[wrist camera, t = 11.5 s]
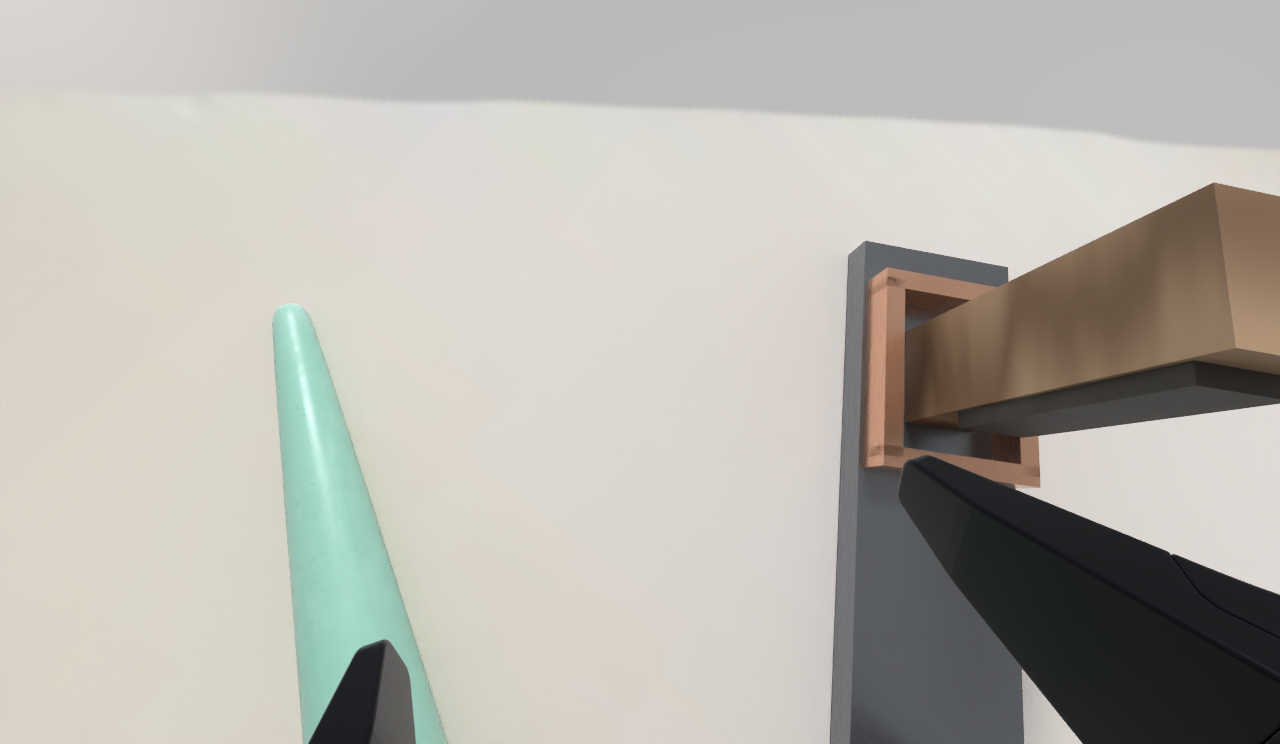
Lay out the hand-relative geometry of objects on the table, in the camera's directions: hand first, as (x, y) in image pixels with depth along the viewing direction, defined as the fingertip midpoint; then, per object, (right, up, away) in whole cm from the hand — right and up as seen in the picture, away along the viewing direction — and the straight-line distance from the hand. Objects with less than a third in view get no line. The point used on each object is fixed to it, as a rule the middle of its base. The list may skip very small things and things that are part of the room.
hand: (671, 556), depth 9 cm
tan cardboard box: (+12, +3, +15) cm, 20 cm away
